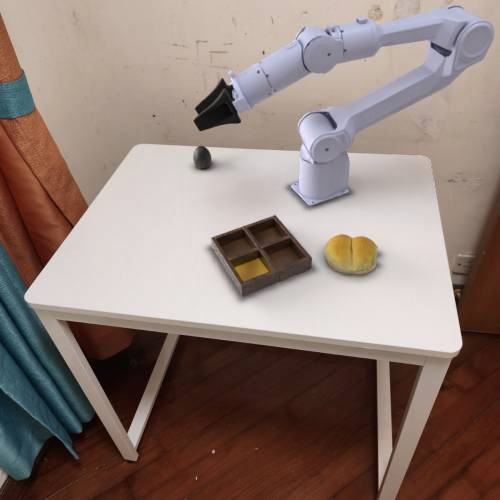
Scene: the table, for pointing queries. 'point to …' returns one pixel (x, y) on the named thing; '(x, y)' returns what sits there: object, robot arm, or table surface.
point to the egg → (202, 157)
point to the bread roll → (351, 254)
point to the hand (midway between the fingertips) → (197, 119)
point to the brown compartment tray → (260, 254)
